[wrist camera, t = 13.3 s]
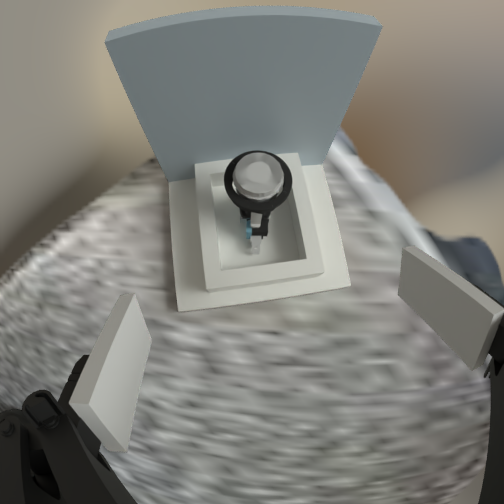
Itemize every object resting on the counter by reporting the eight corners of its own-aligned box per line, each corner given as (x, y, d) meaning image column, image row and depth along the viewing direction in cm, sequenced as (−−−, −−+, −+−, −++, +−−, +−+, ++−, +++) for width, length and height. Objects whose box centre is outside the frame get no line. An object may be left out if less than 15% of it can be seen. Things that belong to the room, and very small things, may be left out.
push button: (280, 255, 30) (297, 222, 20) (228, 255, 30) (220, 222, 20) (278, 196, 31) (292, 144, 22) (229, 195, 31) (224, 143, 22)
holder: (181, 312, 30) (61, 283, 9) (171, 177, 33) (109, 31, 13) (346, 287, 31) (488, 224, 10) (316, 160, 34) (373, 16, 14)
